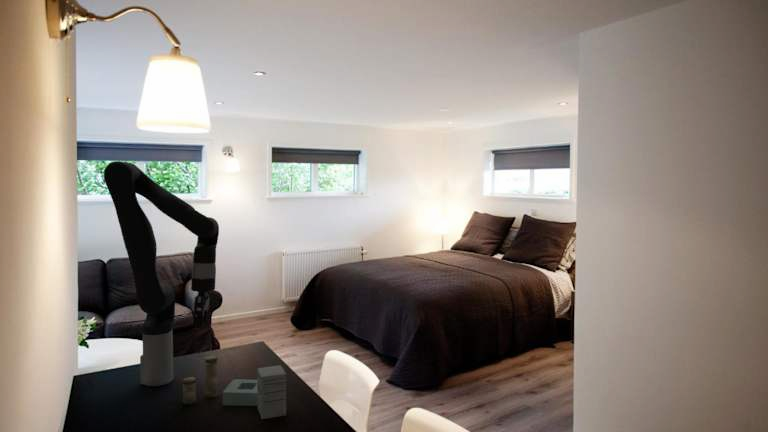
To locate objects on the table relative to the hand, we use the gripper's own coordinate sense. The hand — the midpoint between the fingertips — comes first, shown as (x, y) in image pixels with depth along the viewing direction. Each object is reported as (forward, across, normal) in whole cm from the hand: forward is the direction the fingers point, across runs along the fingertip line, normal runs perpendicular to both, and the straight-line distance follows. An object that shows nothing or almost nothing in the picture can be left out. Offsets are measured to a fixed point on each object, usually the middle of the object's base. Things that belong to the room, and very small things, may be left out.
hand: (201, 324), depth 162 cm
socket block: (+20, +14, +17) cm, 30 cm away
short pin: (+21, +13, 0) cm, 25 cm away
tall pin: (+20, +9, +6) cm, 23 cm away
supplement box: (+21, +24, +24) cm, 41 cm away
